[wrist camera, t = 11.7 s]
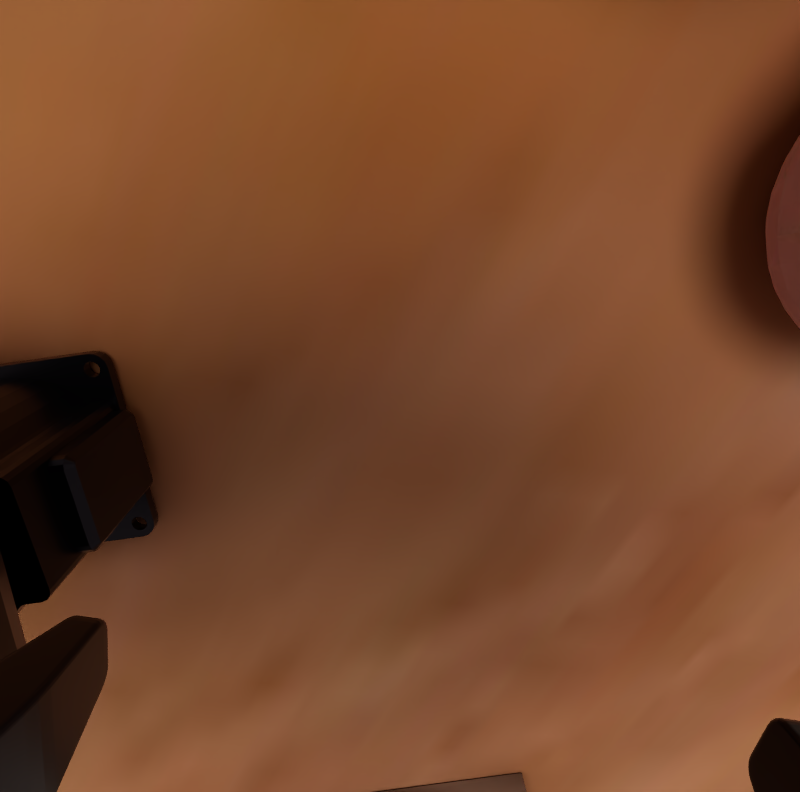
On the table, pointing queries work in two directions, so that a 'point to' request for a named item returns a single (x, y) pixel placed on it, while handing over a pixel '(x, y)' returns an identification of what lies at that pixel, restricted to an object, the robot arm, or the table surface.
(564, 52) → the table surface
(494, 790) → the picture frame
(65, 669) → the robot arm
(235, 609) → the table surface
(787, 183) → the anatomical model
